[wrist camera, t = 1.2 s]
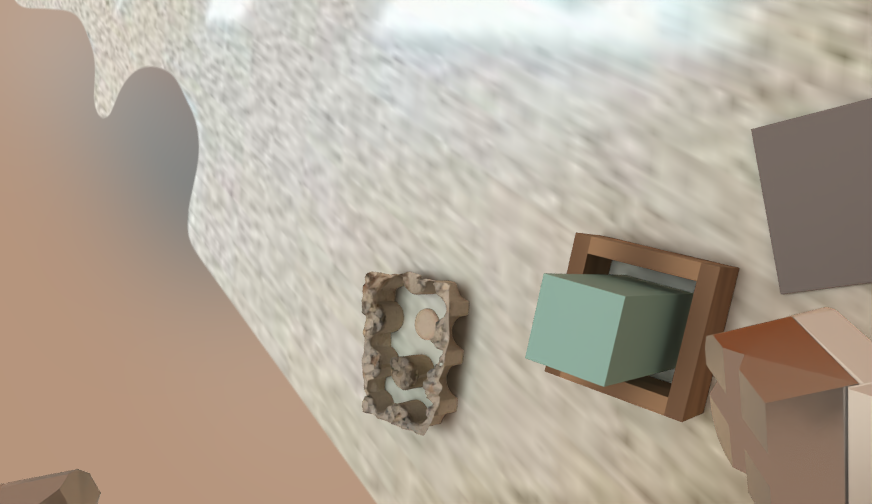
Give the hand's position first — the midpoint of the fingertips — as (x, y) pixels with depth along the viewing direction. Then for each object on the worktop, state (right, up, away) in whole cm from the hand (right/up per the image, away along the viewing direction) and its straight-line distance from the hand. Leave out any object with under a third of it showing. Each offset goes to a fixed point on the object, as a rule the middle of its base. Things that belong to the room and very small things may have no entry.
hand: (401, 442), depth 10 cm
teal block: (+13, -2, +35) cm, 37 cm away
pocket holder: (+13, -2, +35) cm, 37 cm away
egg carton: (0, -4, +45) cm, 45 cm away
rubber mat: (+22, +5, +28) cm, 36 cm away
